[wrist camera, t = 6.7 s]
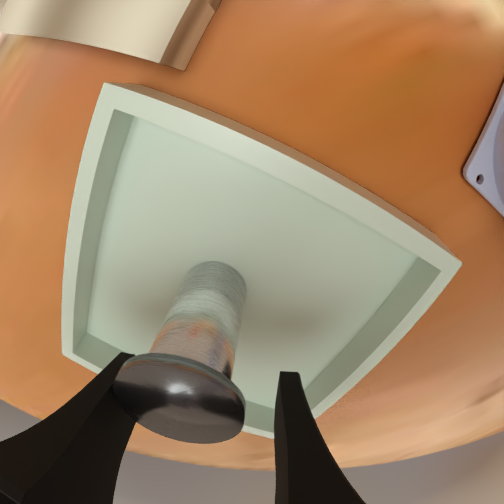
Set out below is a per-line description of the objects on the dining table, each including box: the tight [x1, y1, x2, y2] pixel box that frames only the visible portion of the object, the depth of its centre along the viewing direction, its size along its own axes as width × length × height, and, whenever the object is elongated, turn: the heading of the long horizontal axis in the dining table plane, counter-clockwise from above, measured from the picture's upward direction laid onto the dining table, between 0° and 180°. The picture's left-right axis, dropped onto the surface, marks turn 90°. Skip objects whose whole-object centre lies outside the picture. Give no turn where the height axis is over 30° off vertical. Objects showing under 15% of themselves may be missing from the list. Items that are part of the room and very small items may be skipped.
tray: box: [62, 82, 463, 439], centre depth 14 cm, size 16×16×3 cm
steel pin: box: [113, 261, 247, 444], centre depth 11 cm, size 4×4×7 cm
